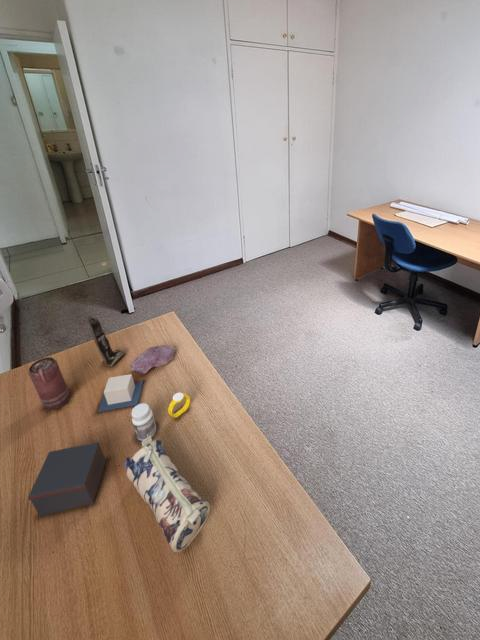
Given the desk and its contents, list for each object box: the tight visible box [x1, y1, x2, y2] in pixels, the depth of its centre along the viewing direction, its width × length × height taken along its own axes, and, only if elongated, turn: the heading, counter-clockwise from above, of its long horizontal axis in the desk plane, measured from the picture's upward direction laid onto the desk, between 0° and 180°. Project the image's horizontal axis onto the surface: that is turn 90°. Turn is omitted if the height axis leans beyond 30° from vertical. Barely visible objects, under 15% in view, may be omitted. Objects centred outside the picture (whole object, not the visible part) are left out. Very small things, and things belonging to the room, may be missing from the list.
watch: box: [167, 392, 191, 419], centre depth 88 cm, size 6×3×6 cm, turn 144°
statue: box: [86, 316, 126, 368], centre depth 101 cm, size 4×7×20 cm, turn 167°
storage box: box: [27, 441, 107, 517], centre depth 71 cm, size 10×9×7 cm
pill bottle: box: [131, 402, 157, 442], centre depth 82 cm, size 5×5×8 cm
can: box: [28, 356, 71, 411], centre depth 89 cm, size 6×6×14 cm
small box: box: [103, 373, 135, 405], centre depth 92 cm, size 6×5×5 cm
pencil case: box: [123, 435, 211, 553], centre depth 67 cm, size 22×8×10 cm, turn 49°
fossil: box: [130, 344, 176, 375], centre depth 103 cm, size 8×14×5 cm, turn 141°
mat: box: [97, 381, 144, 413], centre depth 93 cm, size 10×8×1 cm
